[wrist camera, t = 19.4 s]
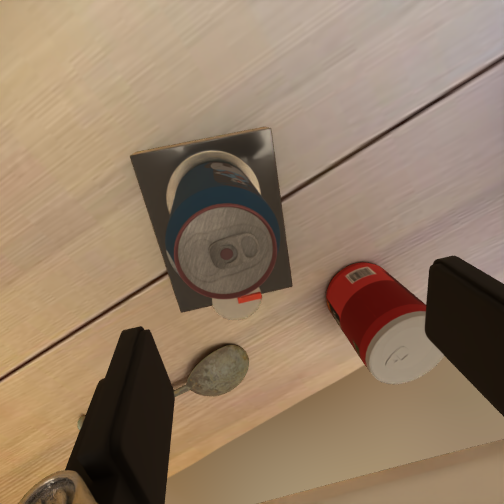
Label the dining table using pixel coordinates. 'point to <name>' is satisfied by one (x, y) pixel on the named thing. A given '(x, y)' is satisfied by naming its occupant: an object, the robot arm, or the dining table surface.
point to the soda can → (221, 232)
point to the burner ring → (201, 159)
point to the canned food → (382, 323)
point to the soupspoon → (214, 373)
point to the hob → (154, 193)
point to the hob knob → (238, 305)
